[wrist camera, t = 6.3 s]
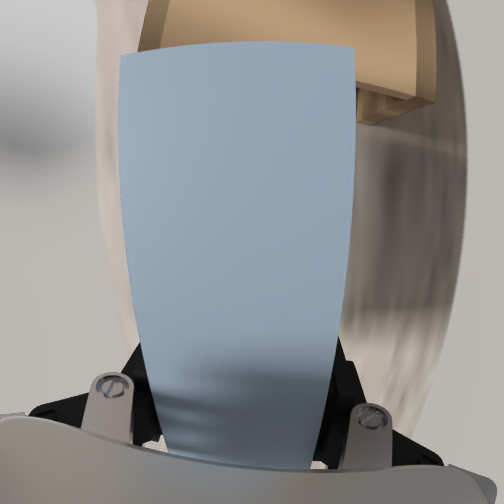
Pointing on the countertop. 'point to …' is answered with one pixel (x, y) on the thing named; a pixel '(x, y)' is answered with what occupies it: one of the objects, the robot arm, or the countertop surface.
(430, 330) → the countertop surface
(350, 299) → the countertop surface
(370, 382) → the countertop surface
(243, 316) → the bar
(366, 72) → the cubby
